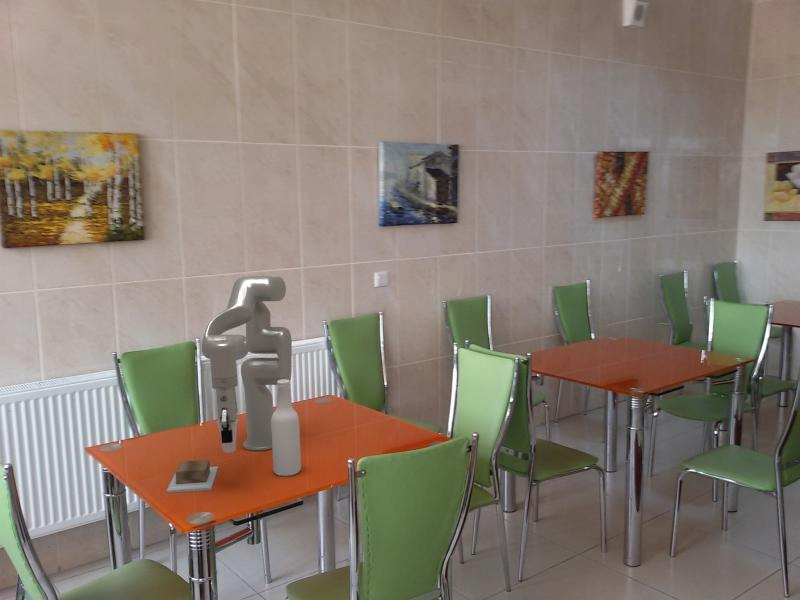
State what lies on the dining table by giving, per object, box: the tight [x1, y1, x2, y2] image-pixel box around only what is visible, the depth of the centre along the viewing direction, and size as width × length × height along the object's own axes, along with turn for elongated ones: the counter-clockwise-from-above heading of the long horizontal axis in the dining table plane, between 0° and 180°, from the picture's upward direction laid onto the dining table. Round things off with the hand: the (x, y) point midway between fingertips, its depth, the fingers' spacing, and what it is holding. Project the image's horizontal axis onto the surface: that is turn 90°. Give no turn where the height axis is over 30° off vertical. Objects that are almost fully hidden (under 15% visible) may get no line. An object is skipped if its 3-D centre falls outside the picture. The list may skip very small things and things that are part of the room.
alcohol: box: [271, 379, 302, 477], centre depth 234 cm, size 9×9×30 cm
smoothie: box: [216, 417, 239, 454], centre depth 223 cm, size 6×6×14 cm
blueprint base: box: [166, 459, 219, 494], centre depth 230 cm, size 13×18×5 cm
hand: (228, 437), depth 224 cm, fingers closed on smoothie, 6 cm apart
